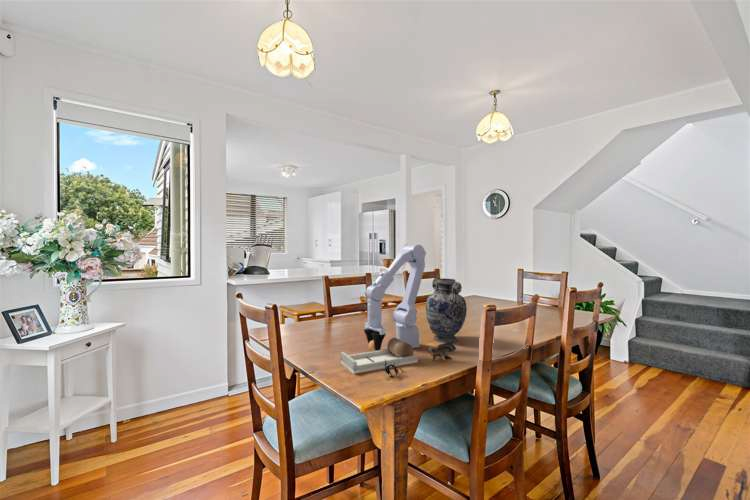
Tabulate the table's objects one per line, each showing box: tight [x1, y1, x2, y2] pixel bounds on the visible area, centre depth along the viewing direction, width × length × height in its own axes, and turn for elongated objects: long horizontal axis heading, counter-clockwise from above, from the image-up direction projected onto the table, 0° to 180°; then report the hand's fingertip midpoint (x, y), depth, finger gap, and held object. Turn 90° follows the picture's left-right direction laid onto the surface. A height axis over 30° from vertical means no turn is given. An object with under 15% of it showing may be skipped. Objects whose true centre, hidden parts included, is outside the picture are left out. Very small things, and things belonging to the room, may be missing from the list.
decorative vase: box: [425, 278, 468, 343], centre depth 164 cm, size 21×19×28 cm
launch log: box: [386, 337, 415, 358], centre depth 136 cm, size 6×10×6 cm, turn 27°
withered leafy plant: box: [428, 342, 457, 362], centre depth 136 cm, size 8×7×9 cm
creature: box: [384, 360, 407, 380], centre depth 120 cm, size 8×5×8 cm
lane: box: [340, 348, 418, 375], centre depth 132 cm, size 26×12×4 cm, turn 117°
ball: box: [367, 340, 379, 352], centre depth 145 cm, size 5×5×5 cm
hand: (374, 348), depth 145 cm, fingers closed on ball, 5 cm apart
